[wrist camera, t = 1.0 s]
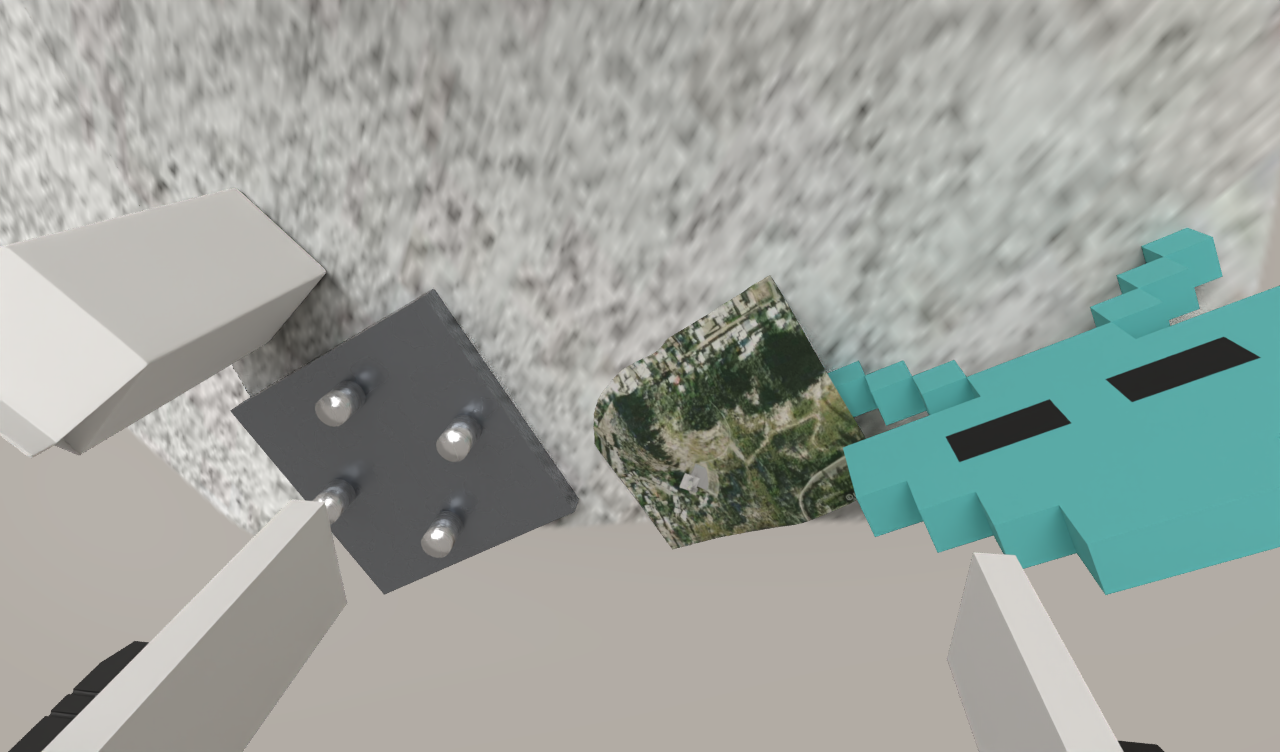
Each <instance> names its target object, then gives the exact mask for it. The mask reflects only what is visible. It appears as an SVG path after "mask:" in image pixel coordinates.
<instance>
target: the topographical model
mask: <svg viewBox="0 0 1280 752" xmlns="http://www.w3.org/2000/svg"><path fill="white" fill-rule="evenodd" d="M594 435H595V445H596V447H597V448H598V450H599V451H600V453H601V454H602V455H603V457H604V458H605V459H606V461H607V462H608V463H609V465H610V466H611V467H612V469H613V470H614V471H615V473H616V474H617V475H618V476H619V478H620V479H621V480H622V481H623V483H624V484H625V485H626V486H627V488H628V489H629V490H630V492H631V493H632V494H633V496H634V497H635V498H636V500H637V501H638V502H639V504H640V505H641V506H642V508H643V509H644V511H645V512H646V513H647V515H648V516H649V518H650V519H651V521H652V522H653V523H654V525H655V526H656V527H657V529H658V530H659V532H660V533H661V534H662V536H663V537H664V538H665V539H666V541H667V542H668V544H669V545H670V546H671V548H672V549H676V548H679V547H683V546H688V545H691V544H695V543H699V542H703V541H707V540H711V539H715V538H719V537H723V536H729V535H735V534H741V533H745V532H751V531H757V530H763V529H769V528H775V527H781V526H790V525H796V524H800V523H804V522H807V521H810V520H812V519H815V518H817V517H820V516H822V515H825V514H827V513H829V512H832V511H834V510H837V509H839V508H841V507H844V506H846V505H848V504H850V503H852V502H854V501H856V500H857V498H856V495H855V491H854V487H853V484H852V480H851V476H850V472H849V469H848V465H847V461H846V458H845V454H844V450H843V447H846V446H848V445H851V444H854V443H856V442H859V441H862V440H865V439H866V438H865V437H864V435H863V433H862V431H861V430H860V428H859V426H858V425H857V423H856V421H855V420H854V418H853V416H852V414H851V413H850V411H849V409H848V408H847V406H846V404H845V403H844V401H843V399H842V398H841V396H840V394H839V393H838V391H837V389H836V388H835V386H834V384H833V383H832V381H831V379H830V378H829V376H828V374H827V373H826V371H825V369H824V367H823V366H822V364H821V362H820V361H819V359H818V357H817V355H816V353H815V352H814V350H813V348H812V346H811V345H810V343H809V341H808V339H807V337H806V336H805V334H804V332H803V330H802V328H801V327H800V325H799V323H798V321H797V319H796V318H795V316H794V314H793V312H792V311H791V309H790V307H789V306H788V304H787V302H786V300H785V299H784V297H783V295H782V294H781V292H780V290H779V289H778V287H777V285H776V284H775V282H774V281H773V279H772V277H771V276H768V277H766V278H764V279H763V280H761V281H759V282H758V283H756V284H754V285H752V286H751V287H749V288H748V289H747V290H745V291H744V292H742V293H741V294H739V295H738V296H736V297H734V298H733V299H731V300H729V301H728V302H726V303H725V304H723V305H722V306H720V307H719V308H717V309H716V310H714V311H713V312H711V313H709V314H708V315H706V316H704V317H703V318H701V319H699V320H698V321H696V322H694V323H693V324H691V325H690V326H688V327H686V328H685V329H683V330H681V331H680V332H678V333H676V334H675V335H673V336H671V337H670V338H668V339H667V340H666V341H665V343H664V344H663V345H662V347H661V348H660V349H659V350H658V351H657V352H655V353H653V354H652V355H650V356H648V357H646V358H644V359H641V360H639V361H637V362H636V363H634V364H632V365H630V366H628V367H626V368H625V369H623V370H622V371H621V372H620V373H619V374H618V375H617V376H616V377H615V378H614V379H613V380H612V381H611V382H610V383H609V385H608V386H607V387H606V389H605V390H604V391H603V392H602V394H601V395H600V397H599V399H598V402H597V405H596V408H595V412H594Z"/></svg>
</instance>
